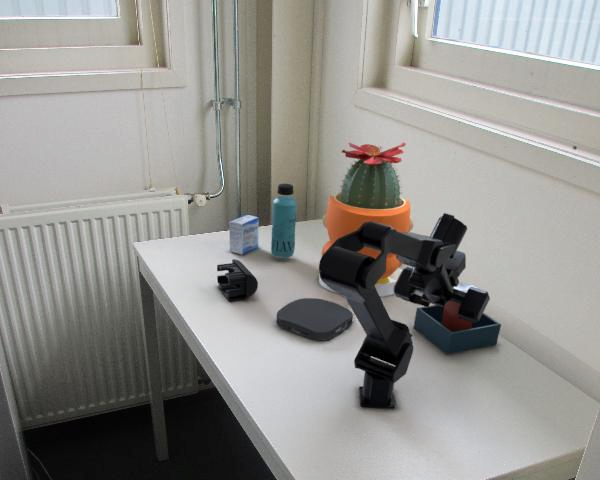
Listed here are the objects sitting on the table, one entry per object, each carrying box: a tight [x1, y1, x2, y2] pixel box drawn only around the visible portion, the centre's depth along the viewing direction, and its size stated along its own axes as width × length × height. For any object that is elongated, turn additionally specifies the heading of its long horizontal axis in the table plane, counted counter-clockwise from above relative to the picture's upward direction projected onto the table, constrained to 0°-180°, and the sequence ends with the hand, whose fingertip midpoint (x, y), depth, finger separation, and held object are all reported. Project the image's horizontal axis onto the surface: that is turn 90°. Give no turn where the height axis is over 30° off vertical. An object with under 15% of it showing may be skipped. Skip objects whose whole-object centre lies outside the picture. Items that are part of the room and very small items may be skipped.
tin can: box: [441, 282, 478, 332], centre depth 148 cm, size 7×7×11 cm
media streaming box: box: [275, 297, 354, 341], centre depth 152 cm, size 15×15×3 cm
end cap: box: [216, 258, 259, 303], centre depth 162 cm, size 10×7×7 cm
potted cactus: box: [318, 141, 415, 298], centre depth 162 cm, size 22×22×35 cm
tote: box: [413, 304, 502, 355], centre depth 150 cm, size 13×13×5 cm
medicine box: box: [228, 214, 260, 256], centre depth 186 cm, size 8×4×9 cm, turn 148°
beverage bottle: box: [270, 183, 298, 258], centre depth 179 cm, size 6×7×20 cm
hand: (447, 311), depth 142 cm, fingers open, 9 cm apart
